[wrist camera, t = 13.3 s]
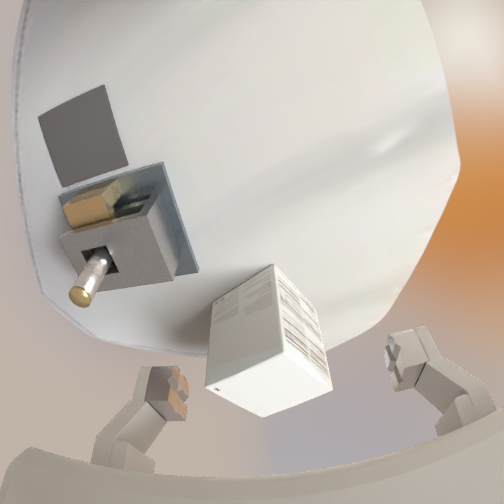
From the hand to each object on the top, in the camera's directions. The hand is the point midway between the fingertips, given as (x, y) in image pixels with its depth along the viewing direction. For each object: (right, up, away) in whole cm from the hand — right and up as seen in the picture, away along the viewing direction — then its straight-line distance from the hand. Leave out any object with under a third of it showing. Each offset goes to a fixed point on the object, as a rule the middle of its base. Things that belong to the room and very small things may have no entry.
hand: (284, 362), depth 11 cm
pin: (-22, +6, +33) cm, 40 cm away
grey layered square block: (-20, +7, +33) cm, 40 cm away
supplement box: (+1, -5, +42) cm, 43 cm away
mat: (-25, +20, +25) cm, 41 cm away
